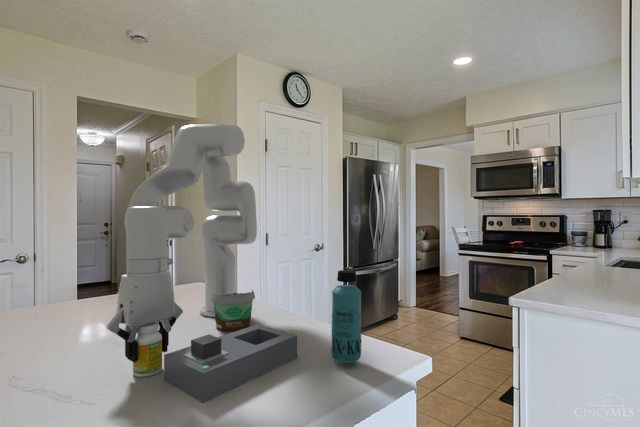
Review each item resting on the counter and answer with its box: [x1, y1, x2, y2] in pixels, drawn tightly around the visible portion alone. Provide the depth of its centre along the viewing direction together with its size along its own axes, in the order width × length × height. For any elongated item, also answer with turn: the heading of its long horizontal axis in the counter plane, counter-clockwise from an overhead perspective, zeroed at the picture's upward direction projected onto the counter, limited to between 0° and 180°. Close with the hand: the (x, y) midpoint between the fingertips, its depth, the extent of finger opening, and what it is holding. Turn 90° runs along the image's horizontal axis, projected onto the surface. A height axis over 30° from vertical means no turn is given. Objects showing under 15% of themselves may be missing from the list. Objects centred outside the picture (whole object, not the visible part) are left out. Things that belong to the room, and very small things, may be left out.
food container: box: [211, 289, 256, 333], centre depth 99 cm, size 12×6×10 cm, turn 117°
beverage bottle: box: [330, 269, 363, 364], centre depth 76 cm, size 6×7×20 cm
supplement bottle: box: [132, 322, 163, 378], centre depth 73 cm, size 5×5×10 cm
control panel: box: [163, 323, 298, 404], centre depth 74 cm, size 24×13×8 cm, turn 142°
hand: (147, 354), depth 73 cm, fingers closed on supplement bottle, 5 cm apart
